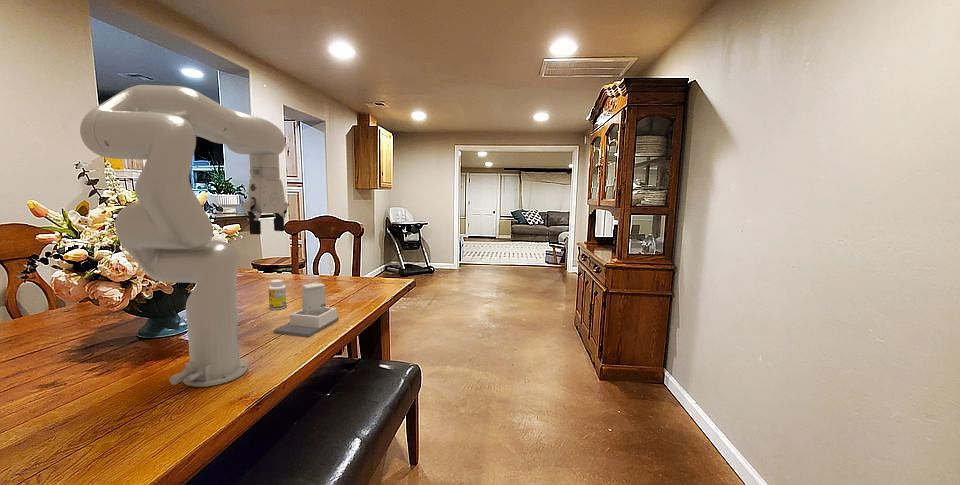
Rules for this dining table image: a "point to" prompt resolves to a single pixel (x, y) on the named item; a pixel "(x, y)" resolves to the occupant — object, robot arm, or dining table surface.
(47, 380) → the dining table surface
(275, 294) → the supplement bottle
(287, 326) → the socket holder
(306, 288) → the skincare box
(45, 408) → the dining table surface
